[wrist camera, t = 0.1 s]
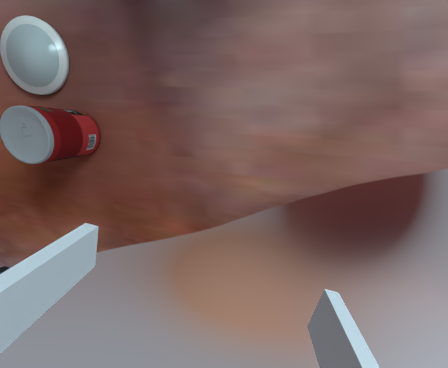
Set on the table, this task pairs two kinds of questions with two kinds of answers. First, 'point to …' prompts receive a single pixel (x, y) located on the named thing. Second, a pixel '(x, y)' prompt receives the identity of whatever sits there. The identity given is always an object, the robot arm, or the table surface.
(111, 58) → the table surface
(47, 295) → the robot arm
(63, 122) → the canned food
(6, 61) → the plate
